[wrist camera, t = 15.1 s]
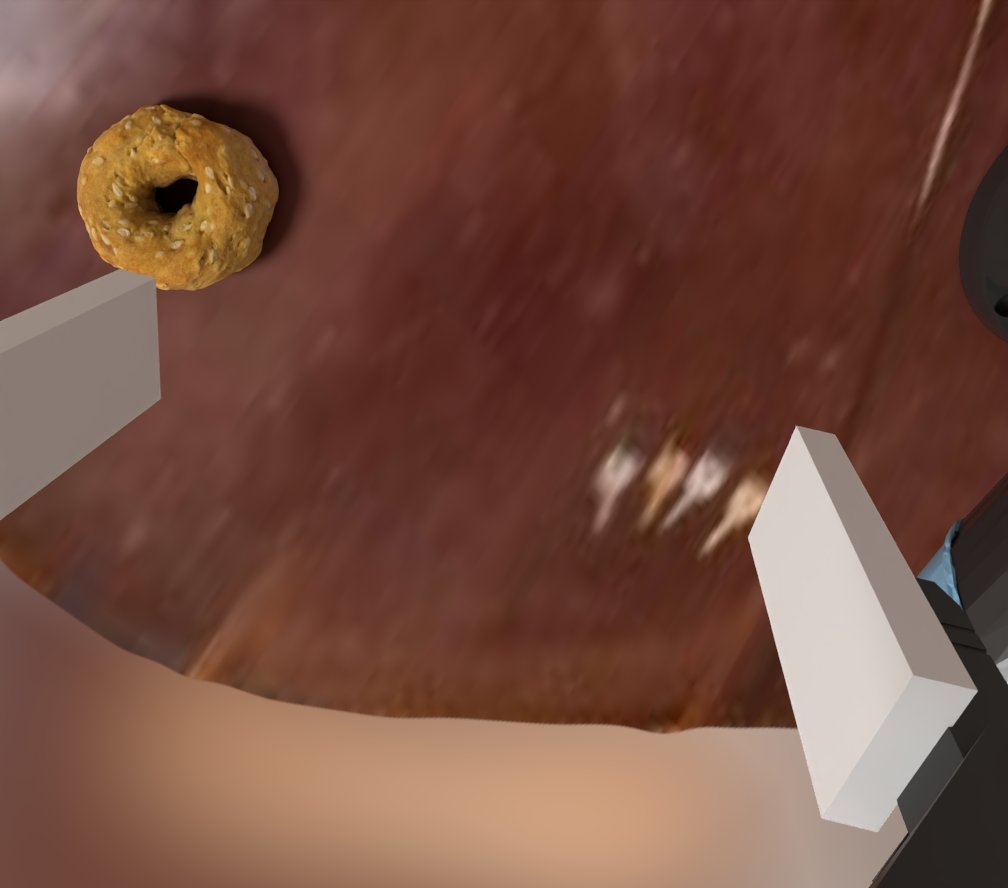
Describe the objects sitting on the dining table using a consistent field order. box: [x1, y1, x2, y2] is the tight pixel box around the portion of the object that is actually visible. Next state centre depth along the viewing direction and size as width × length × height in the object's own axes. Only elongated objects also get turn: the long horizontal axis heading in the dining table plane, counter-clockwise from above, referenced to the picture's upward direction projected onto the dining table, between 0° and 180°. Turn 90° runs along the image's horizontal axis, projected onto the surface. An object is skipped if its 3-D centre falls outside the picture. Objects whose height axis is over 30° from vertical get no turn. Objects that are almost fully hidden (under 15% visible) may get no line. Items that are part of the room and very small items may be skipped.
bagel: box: [77, 104, 279, 290], centre depth 41 cm, size 10×11×5 cm
